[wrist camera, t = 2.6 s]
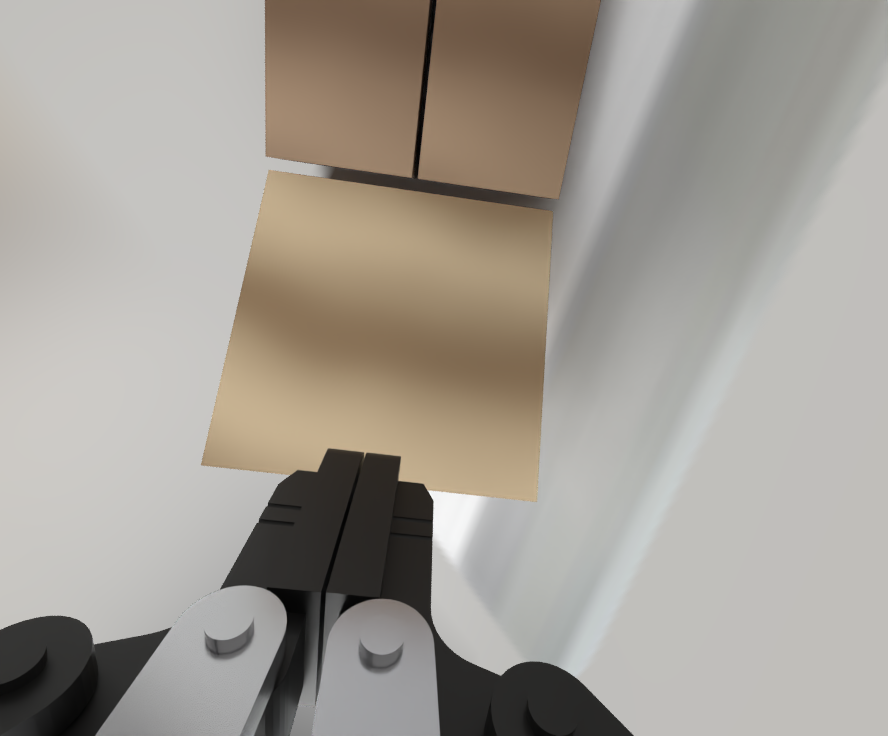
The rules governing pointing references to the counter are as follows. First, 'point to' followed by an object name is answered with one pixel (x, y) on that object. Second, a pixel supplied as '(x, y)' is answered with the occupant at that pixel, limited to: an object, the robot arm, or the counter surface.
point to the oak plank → (389, 337)
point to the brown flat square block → (429, 87)
